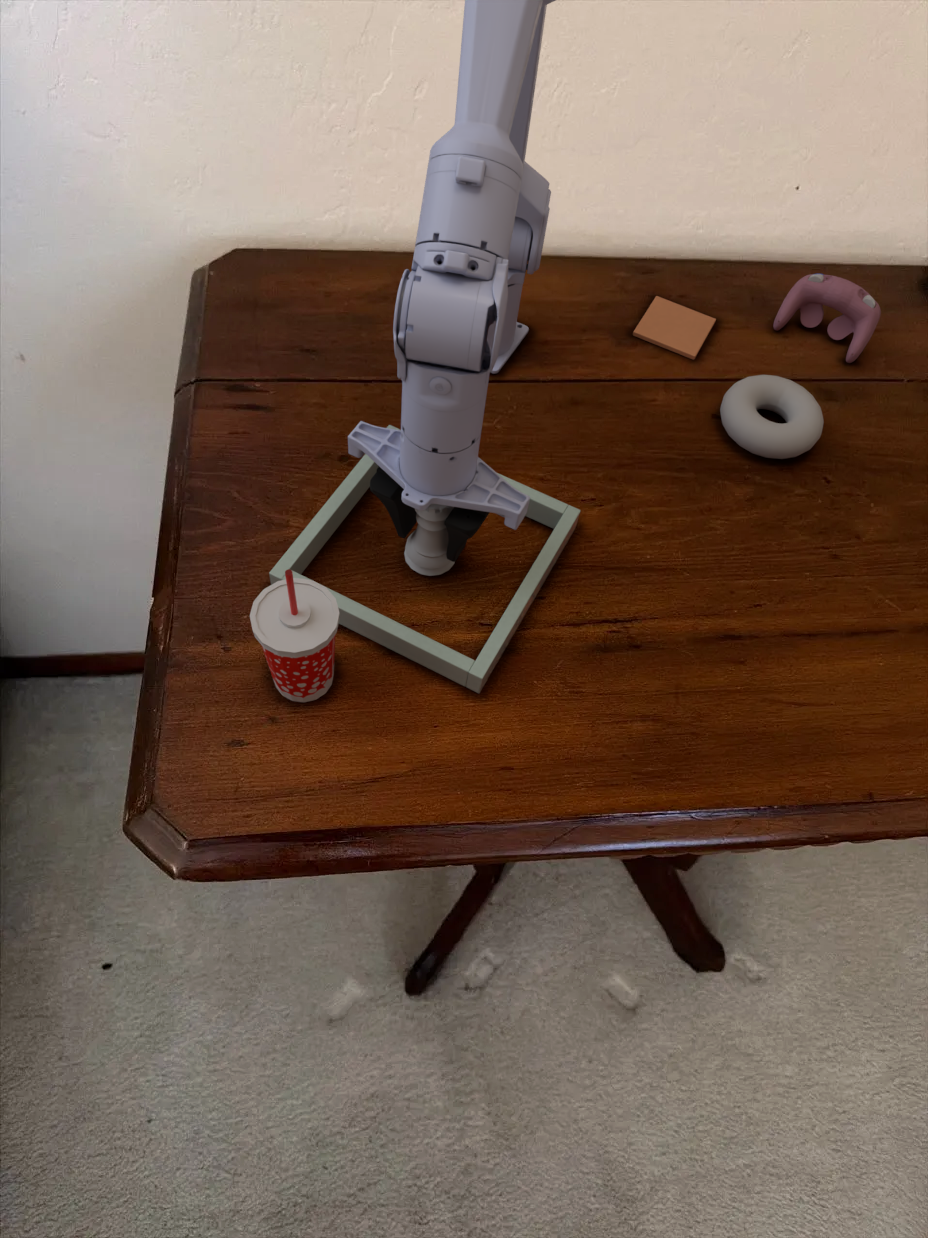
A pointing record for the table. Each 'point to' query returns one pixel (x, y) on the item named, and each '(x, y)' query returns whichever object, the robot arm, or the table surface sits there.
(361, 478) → the open square border
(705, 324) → the mat
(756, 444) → the donut
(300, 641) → the beverage cup
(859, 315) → the video game controller
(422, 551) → the rook chess piece
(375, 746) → the table surface
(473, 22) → the robot arm
